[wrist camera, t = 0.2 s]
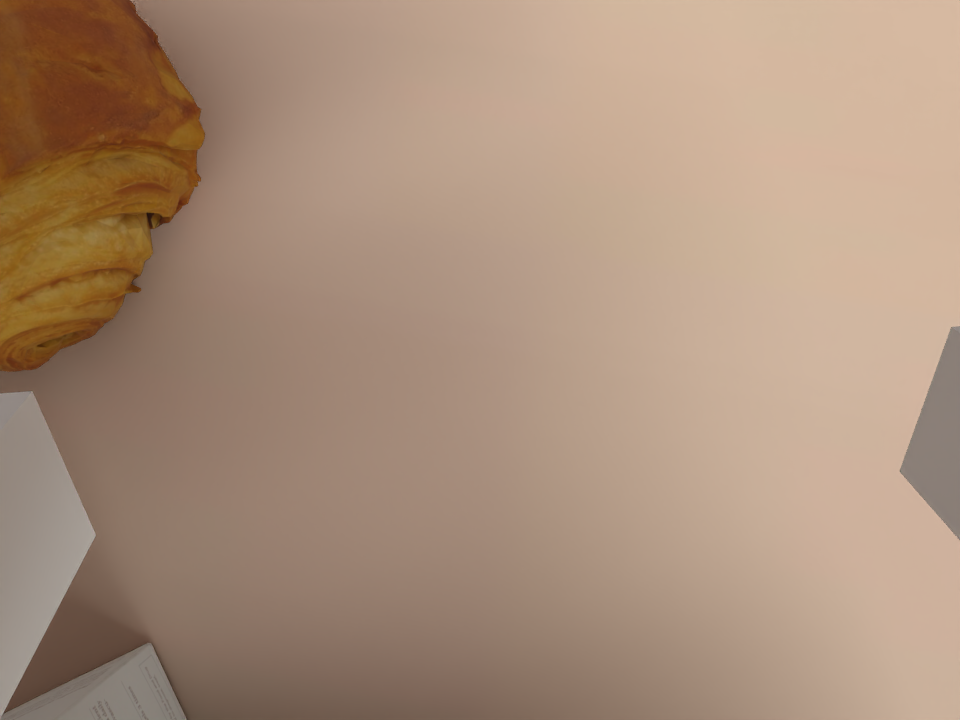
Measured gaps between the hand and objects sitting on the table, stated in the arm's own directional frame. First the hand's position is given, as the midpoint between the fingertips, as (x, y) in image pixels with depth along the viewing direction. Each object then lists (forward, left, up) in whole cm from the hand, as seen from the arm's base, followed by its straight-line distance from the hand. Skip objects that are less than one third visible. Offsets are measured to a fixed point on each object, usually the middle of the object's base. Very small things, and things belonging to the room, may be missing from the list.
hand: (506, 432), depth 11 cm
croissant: (+10, +16, -16) cm, 25 cm away
